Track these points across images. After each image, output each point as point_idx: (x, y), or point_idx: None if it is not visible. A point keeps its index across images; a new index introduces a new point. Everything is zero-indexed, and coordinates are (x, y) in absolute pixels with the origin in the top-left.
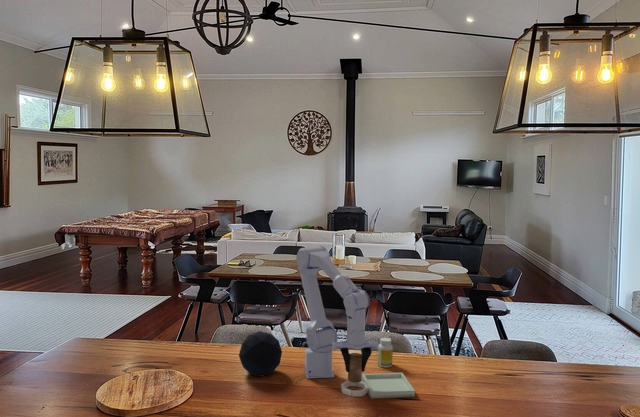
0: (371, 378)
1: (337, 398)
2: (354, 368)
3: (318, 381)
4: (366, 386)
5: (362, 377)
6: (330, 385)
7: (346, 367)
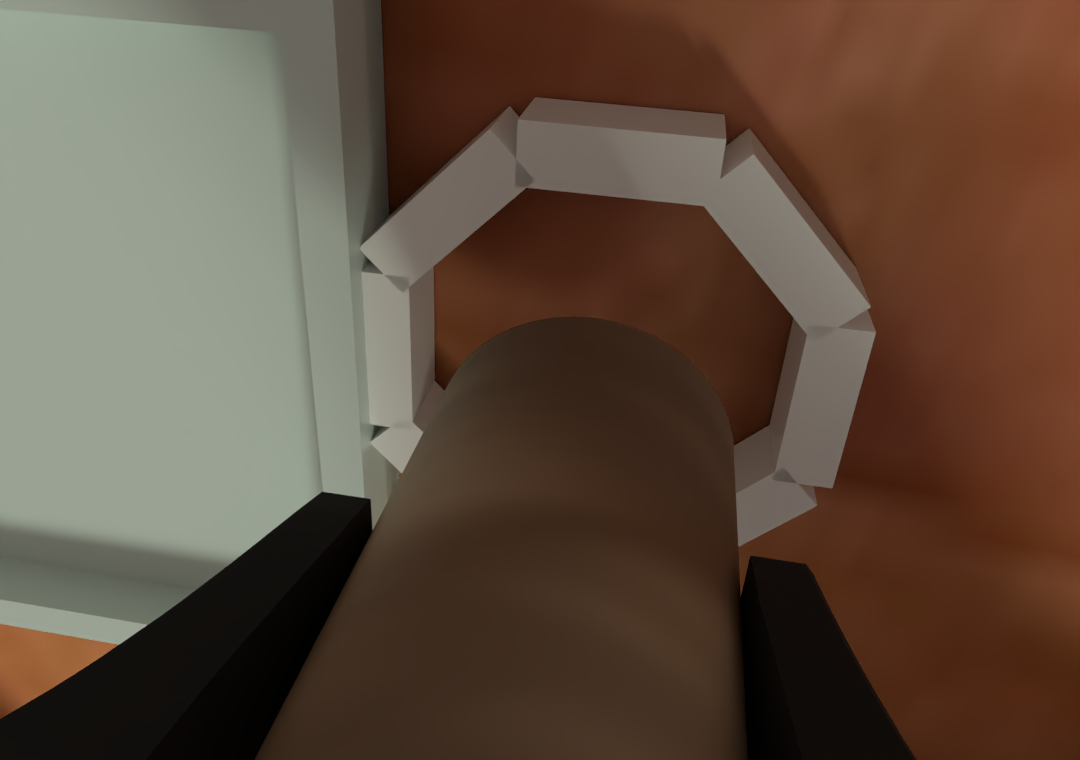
0: None
1: (1070, 83)
2: (601, 553)
3: (1071, 723)
4: (380, 314)
5: None
6: (944, 579)
7: (859, 666)
